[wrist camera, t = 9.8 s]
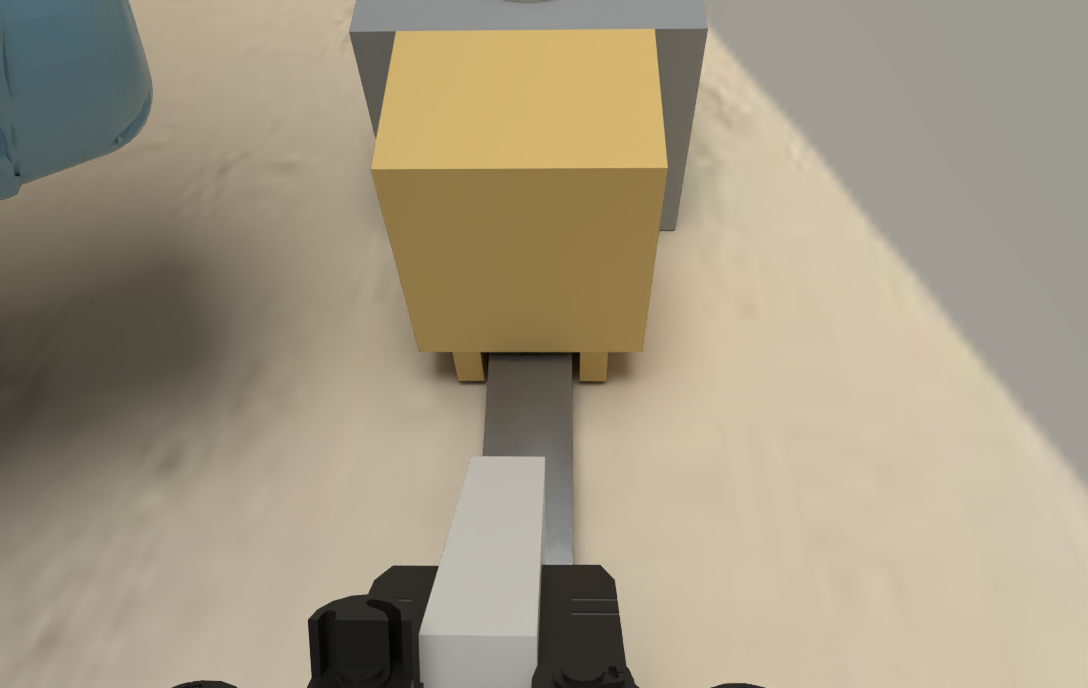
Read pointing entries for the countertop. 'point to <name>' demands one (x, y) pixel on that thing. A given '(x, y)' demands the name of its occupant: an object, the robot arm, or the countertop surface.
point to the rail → (536, 431)
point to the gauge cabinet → (552, 5)
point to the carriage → (523, 190)
